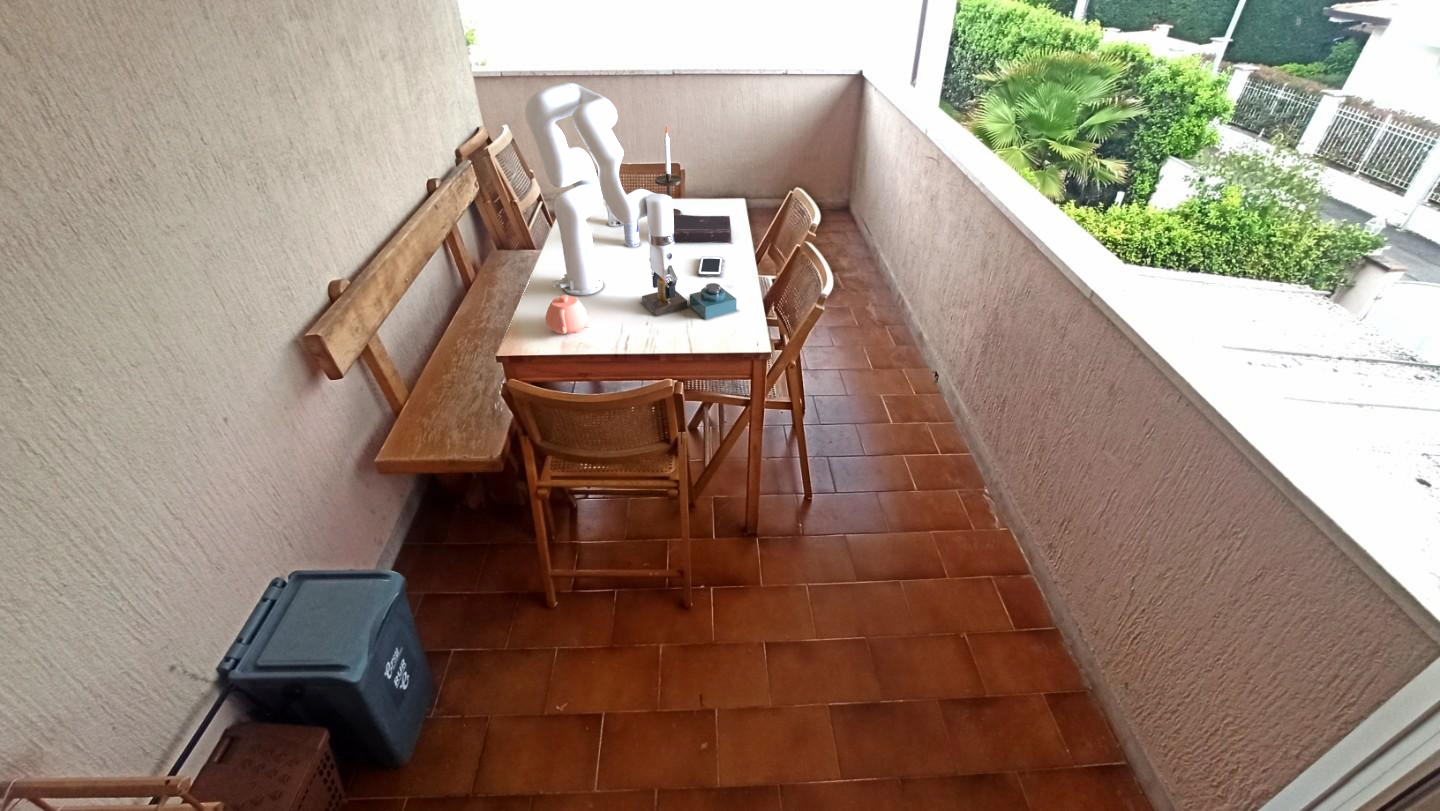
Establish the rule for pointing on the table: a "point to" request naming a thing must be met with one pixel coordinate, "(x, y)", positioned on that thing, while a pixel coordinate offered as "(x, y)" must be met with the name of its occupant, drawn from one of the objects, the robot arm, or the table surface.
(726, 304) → the teal push button box
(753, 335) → the table surface
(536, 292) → the table surface
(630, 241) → the energy drink
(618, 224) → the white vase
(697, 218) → the diary
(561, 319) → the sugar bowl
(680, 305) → the knob panel
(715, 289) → the dark grey push button
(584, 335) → the table surface
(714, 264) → the cell phone
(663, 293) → the knob
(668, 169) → the candlestick
